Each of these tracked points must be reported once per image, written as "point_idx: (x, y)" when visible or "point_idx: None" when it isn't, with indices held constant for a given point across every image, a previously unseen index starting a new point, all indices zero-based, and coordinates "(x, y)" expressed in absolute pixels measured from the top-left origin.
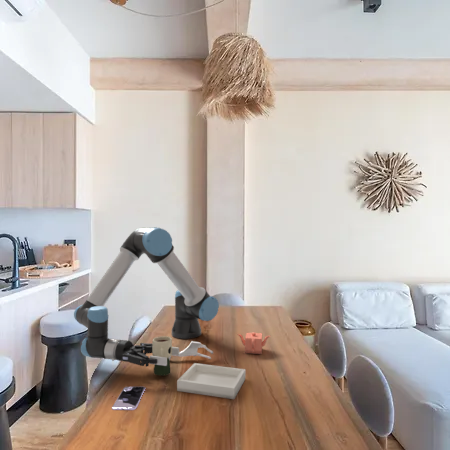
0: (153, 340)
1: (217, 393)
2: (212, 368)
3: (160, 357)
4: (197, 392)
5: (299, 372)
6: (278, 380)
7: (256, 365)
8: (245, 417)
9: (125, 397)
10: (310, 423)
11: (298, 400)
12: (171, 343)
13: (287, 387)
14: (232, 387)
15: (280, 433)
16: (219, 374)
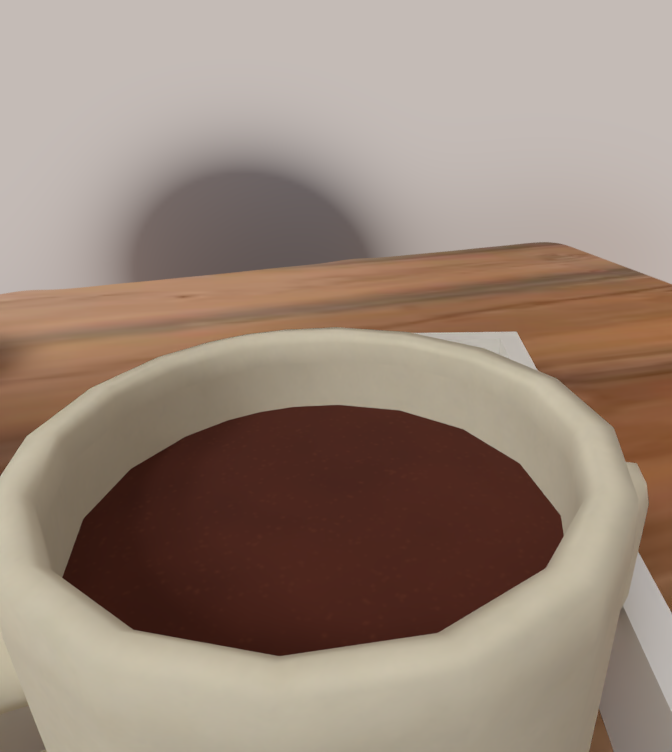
0: (575, 580)
1: None
2: None
3: (658, 598)
4: None
5: (185, 302)
6: (268, 324)
7: (89, 376)
8: (629, 346)
9: None
10: (539, 277)
11: (415, 293)
12: (307, 402)
13: (326, 309)
14: (510, 336)
15: (644, 299)
16: None
